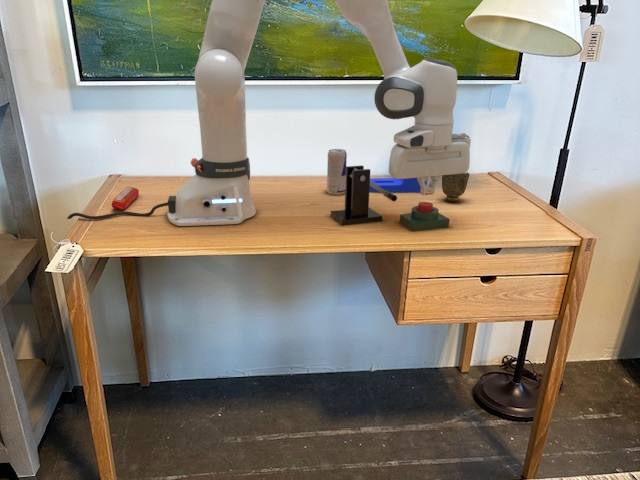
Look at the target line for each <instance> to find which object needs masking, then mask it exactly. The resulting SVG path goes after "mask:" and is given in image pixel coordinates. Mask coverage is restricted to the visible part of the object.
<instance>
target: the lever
mask: <svg viewBox="0 0 640 480" xmlns="http://www.w3.org/2000/svg"><path fill="white" fill-rule="evenodd" d="M353 170H358V169H356V168H354V169H353ZM350 177H352V173H351V174H350ZM370 186H371V187H373V188H374V189H376V190H378V191H379V192H381V193H380V194H382V195H383V197H385V198H387V200H390V201H391V202H396V201H397V200H398V195H396V194H394V193H393V192H389V191H385V190H384V189H382V188H381V187H379V186H377V185H376V184H374V183H373V182H371V181H370Z"/></svg>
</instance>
